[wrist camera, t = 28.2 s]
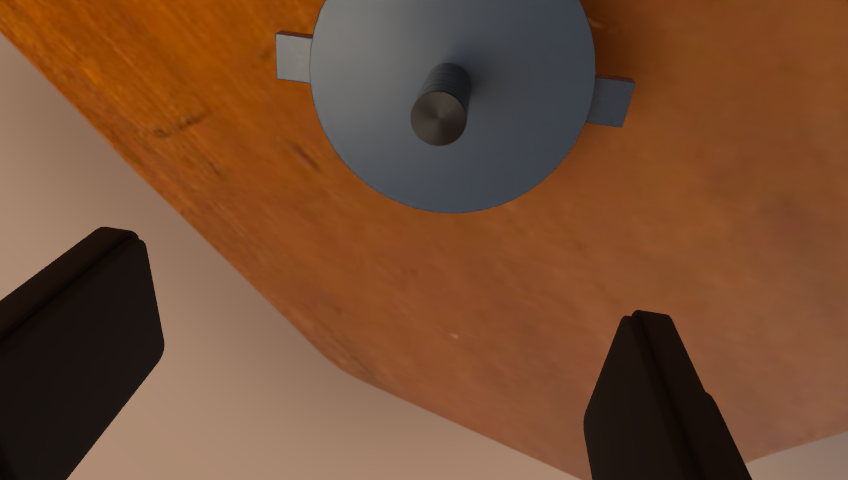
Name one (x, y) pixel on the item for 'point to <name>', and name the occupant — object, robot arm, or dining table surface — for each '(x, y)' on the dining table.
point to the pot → (604, 110)
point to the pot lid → (452, 94)
